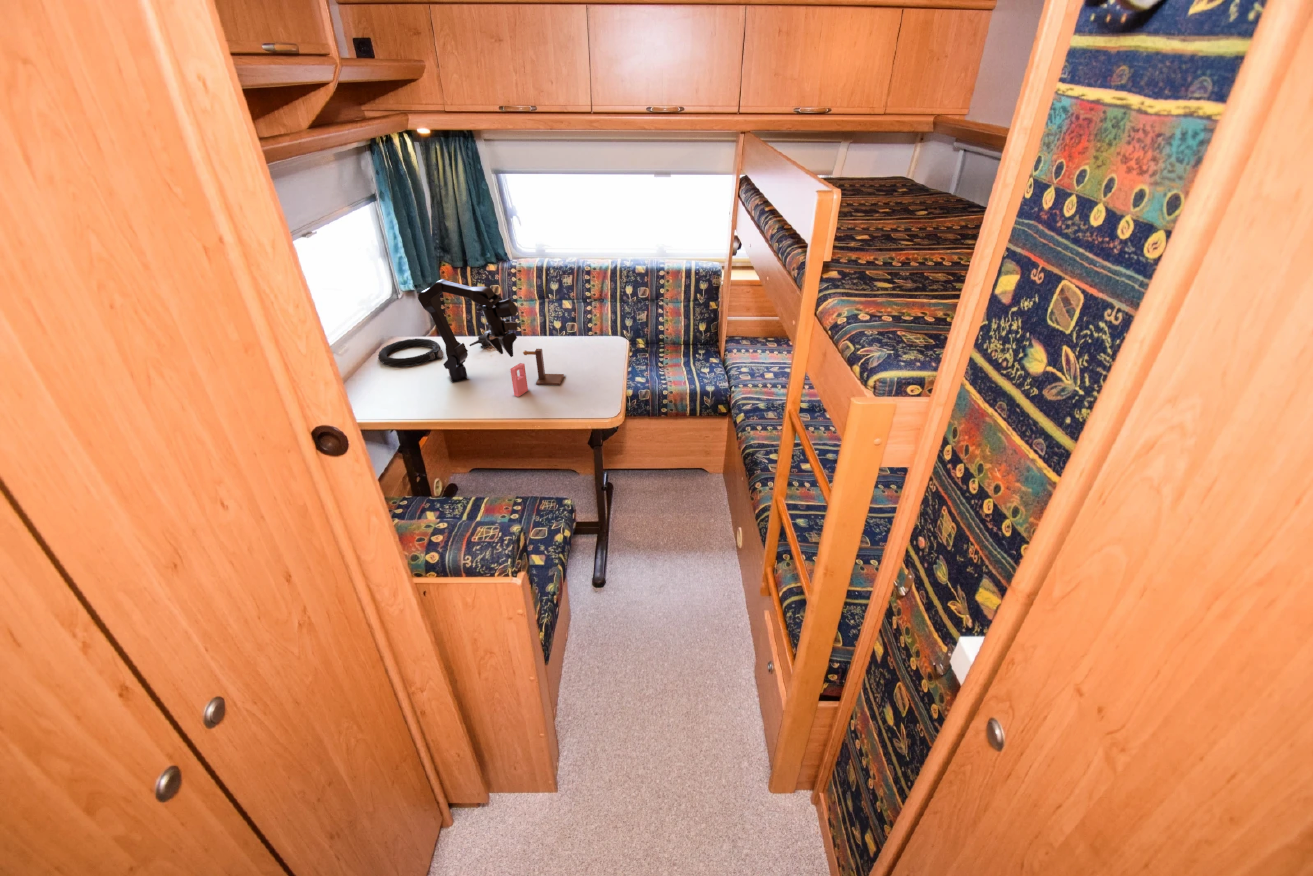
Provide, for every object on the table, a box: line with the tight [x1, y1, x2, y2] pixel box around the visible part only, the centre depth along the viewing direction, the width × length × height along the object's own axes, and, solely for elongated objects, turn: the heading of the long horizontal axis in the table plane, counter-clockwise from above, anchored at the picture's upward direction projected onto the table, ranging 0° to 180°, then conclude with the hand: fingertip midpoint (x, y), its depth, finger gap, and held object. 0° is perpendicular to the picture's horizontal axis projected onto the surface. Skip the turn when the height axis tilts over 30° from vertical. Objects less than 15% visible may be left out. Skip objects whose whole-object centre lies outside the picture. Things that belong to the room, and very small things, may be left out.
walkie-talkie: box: [469, 334, 492, 349], centre depth 281 cm, size 6×6×20 cm
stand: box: [522, 348, 565, 386], centre depth 246 cm, size 15×9×14 cm, turn 86°
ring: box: [377, 338, 444, 367], centre depth 273 cm, size 28×4×30 cm
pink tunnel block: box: [509, 362, 529, 398], centre depth 236 cm, size 2×6×12 cm, turn 154°
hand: (507, 355), depth 241 cm, fingers open, 9 cm apart
